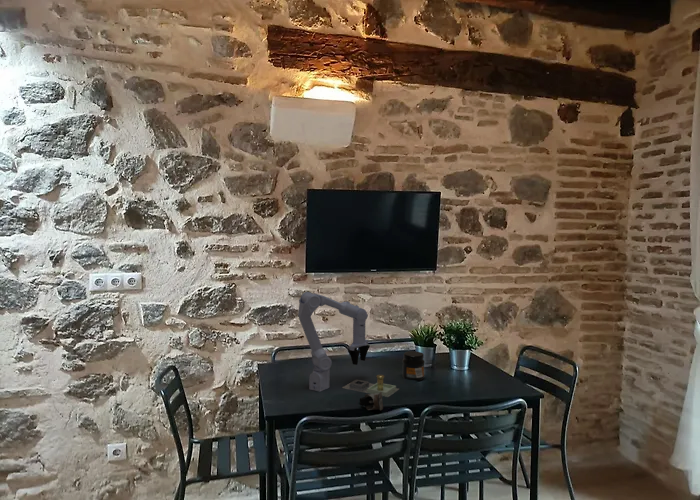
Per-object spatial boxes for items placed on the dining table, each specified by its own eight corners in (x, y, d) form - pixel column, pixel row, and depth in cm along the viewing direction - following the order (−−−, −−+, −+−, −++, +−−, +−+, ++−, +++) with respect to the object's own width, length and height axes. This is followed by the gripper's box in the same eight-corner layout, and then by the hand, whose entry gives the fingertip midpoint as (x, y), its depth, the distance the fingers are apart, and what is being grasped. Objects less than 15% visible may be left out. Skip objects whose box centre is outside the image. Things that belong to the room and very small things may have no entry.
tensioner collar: (362, 389, 226) (362, 386, 226) (349, 386, 230) (349, 383, 229) (369, 384, 232) (369, 381, 232) (356, 382, 235) (356, 379, 235)
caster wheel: (363, 408, 213) (386, 406, 211) (357, 412, 202) (381, 410, 200) (361, 391, 214) (384, 390, 212) (355, 395, 203) (379, 393, 201)
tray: (386, 395, 218) (386, 392, 218) (367, 392, 223) (367, 388, 222) (395, 388, 227) (395, 385, 227) (377, 385, 231) (377, 382, 231)
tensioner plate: (388, 398, 217) (388, 397, 217) (341, 389, 228) (341, 387, 228) (399, 390, 227) (399, 388, 227) (354, 382, 238) (354, 380, 238)
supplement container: (422, 382, 238) (422, 357, 237) (400, 380, 241) (400, 355, 241) (426, 376, 248) (426, 352, 247) (405, 373, 251) (405, 350, 251)
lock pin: (382, 391, 223) (382, 377, 222) (375, 390, 225) (375, 376, 224) (385, 389, 226) (385, 375, 225) (378, 387, 228) (378, 374, 227)
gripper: (359, 337, 227) (359, 367, 228) (374, 331, 239) (373, 359, 240) (345, 335, 230) (345, 365, 231) (360, 329, 243) (360, 357, 244)
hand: (359, 362), depth 236 cm, fingers open, 7 cm apart
